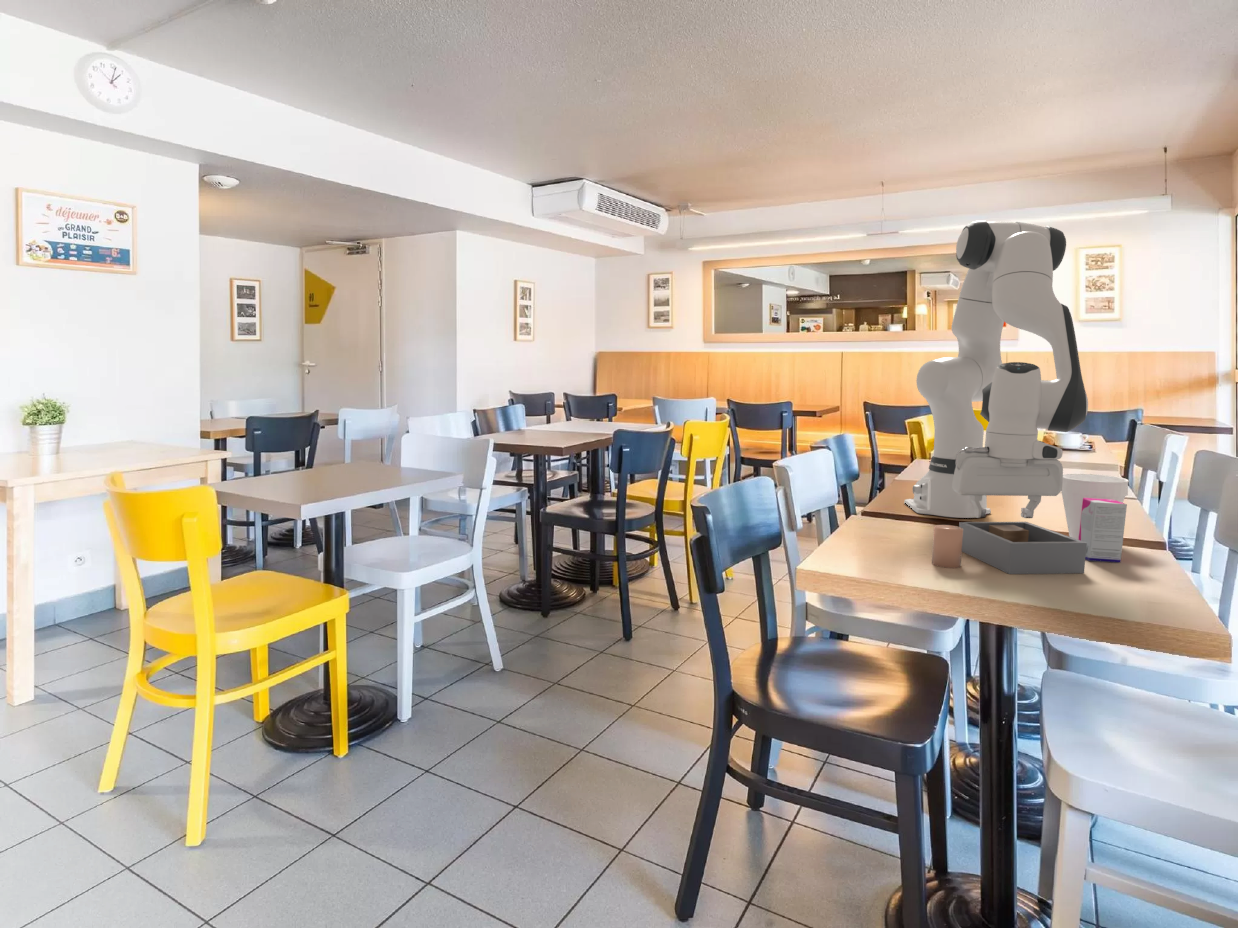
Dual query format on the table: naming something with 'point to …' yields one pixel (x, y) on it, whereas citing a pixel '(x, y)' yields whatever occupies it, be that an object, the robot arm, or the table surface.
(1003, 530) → the block
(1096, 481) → the cup
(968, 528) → the tote
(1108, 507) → the supplement box
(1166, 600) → the table surface
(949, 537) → the cylinder
